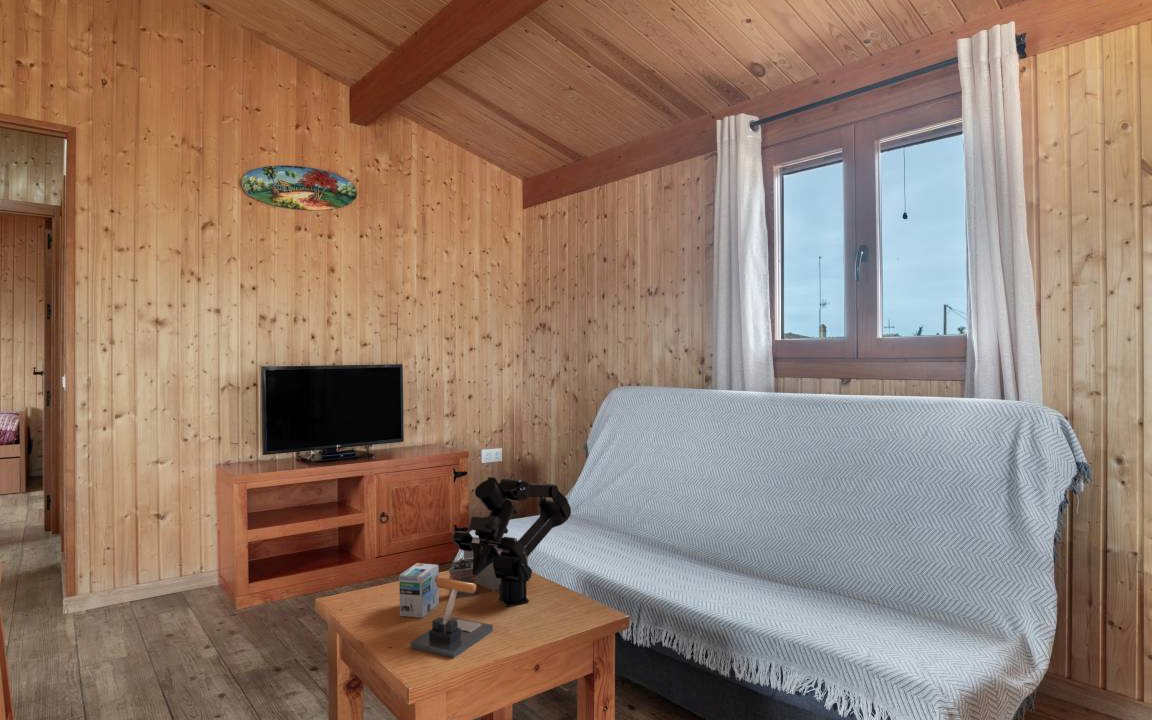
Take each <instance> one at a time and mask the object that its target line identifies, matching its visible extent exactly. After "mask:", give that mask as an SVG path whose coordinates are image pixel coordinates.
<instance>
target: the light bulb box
mask: <svg viewBox="0 0 1152 720" xmlns="http://www.w3.org/2000/svg"><path fill="white" fill-rule="evenodd" d="M398 578H399V579H398V580H399V616H400V617H405V616H406V617H407V618H408V617H409V618H418V619H423V618H424V617H425V616H427V615H428V614H429V613H430V612H431V611H433V609H434V608H436V607H437V606H438V605H439V604H440V603H439V602H440V599H439V597H440V595H439V593H440V592H439V591H440V590H439V589H440V588H439V587H437V586H436V582H437V579H438V578H440V577H439V564H435V563H434V564H432V563H421V562H420V563H419V562H417V563H415V564H413V565H412V566H410V567H409V568H407V569H406V570H405V571H403V572H402V573H400V574H399V576H398ZM406 617H405V618H406Z"/></svg>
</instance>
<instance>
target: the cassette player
mask: <svg viewBox="0 0 1152 720" xmlns="http://www.w3.org/2000/svg"><path fill="white" fill-rule="evenodd" d="M467 558H473V550H472V551H471V552H470V551H463V559H467ZM470 564H471V565H473V563H470ZM467 565H468V564H466V566H467ZM500 584H501V579H500V578H496V575H495V571H494V567H493V562H492V563H491V564H489V565H488V566H487V567H486V568H485V569H484V570H483V571H481V572H480V573H479V574H478V575H477V585H480V586H481V587H482V586H483V587H484V588H486V589H489V590H492V591H493V592H494V591H499V585H500Z"/></svg>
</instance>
